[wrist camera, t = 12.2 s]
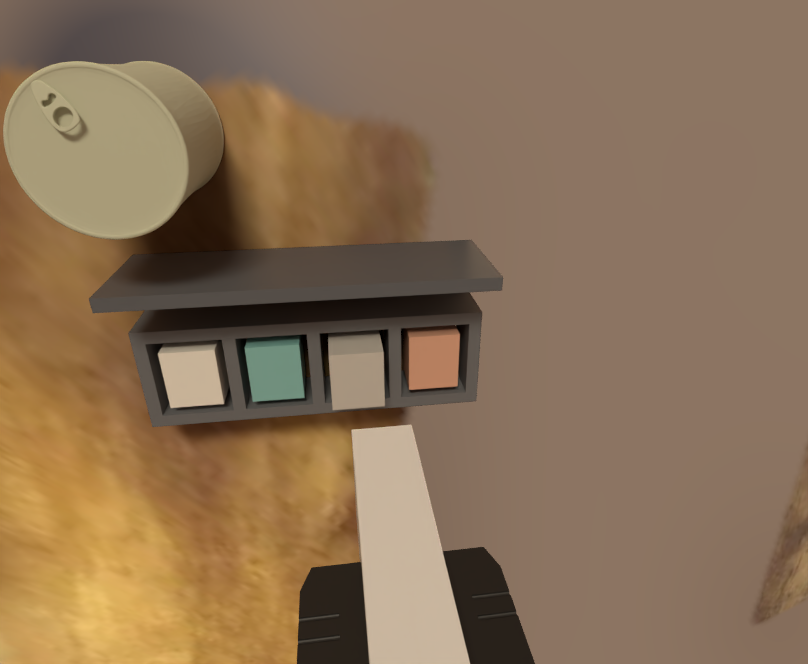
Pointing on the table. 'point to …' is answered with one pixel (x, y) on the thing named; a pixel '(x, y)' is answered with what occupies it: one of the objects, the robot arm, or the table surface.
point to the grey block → (356, 369)
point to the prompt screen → (295, 275)
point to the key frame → (313, 321)
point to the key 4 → (431, 356)
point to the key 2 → (276, 367)
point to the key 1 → (194, 373)
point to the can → (112, 144)
